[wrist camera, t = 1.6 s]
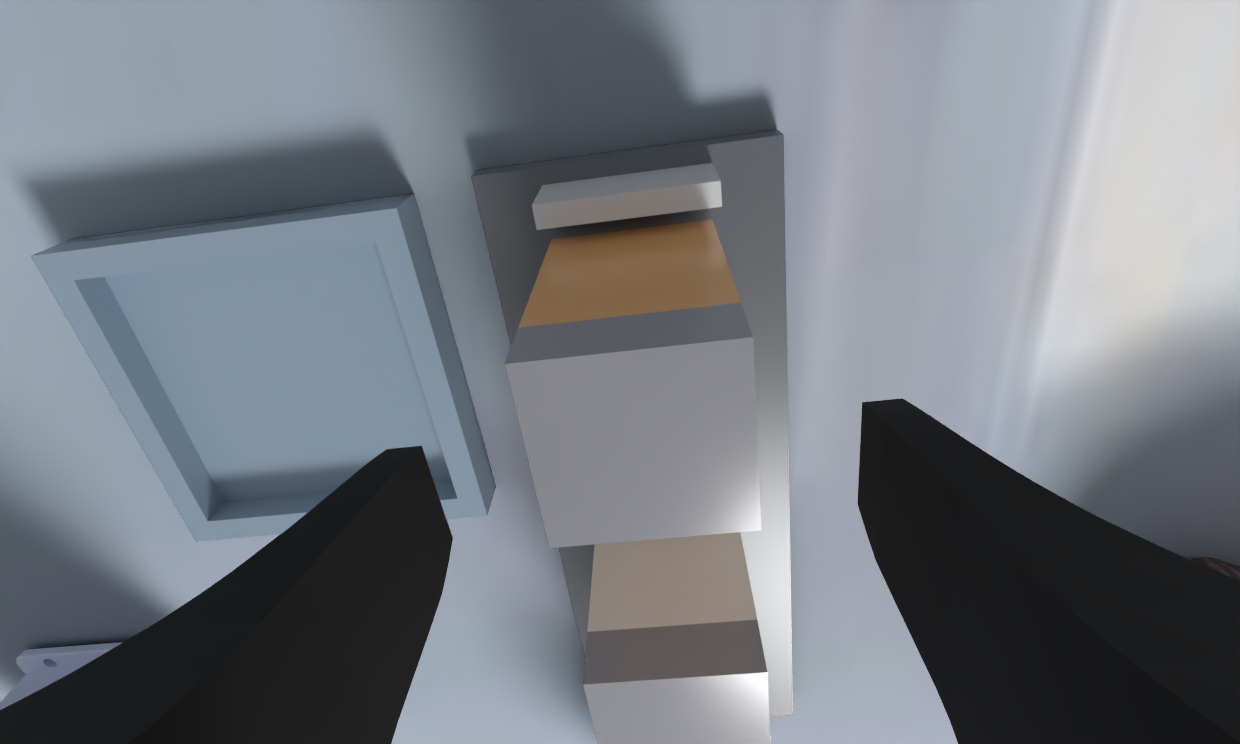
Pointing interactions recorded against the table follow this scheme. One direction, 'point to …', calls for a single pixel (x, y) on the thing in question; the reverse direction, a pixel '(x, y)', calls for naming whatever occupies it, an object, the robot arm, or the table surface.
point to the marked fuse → (638, 384)
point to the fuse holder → (755, 252)
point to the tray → (276, 357)
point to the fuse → (675, 644)
